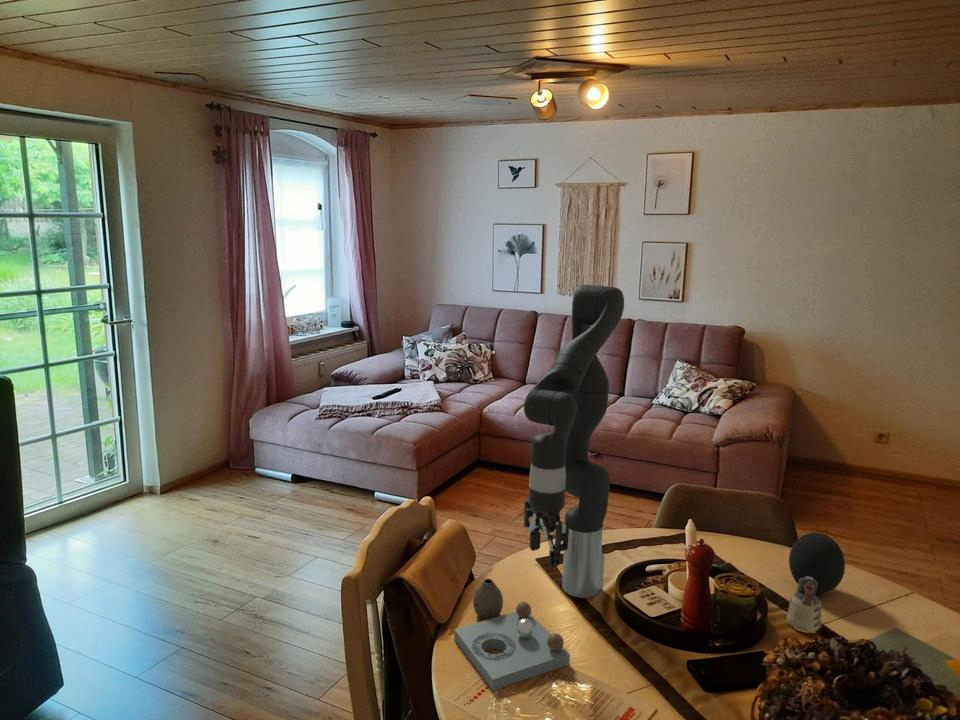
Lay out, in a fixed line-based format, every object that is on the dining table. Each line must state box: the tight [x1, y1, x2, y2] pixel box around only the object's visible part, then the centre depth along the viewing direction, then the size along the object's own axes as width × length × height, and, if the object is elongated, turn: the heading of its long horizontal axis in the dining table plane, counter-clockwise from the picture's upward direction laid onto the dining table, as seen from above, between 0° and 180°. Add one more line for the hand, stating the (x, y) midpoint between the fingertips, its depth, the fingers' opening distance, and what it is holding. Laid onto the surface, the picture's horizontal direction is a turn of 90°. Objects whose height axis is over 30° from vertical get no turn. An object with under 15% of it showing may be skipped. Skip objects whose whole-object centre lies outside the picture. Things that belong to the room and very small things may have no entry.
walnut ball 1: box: [515, 601, 532, 618], centre depth 151 cm, size 3×3×3 cm
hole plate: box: [453, 611, 571, 691], centre depth 143 cm, size 18×18×2 cm
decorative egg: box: [788, 532, 846, 595], centre depth 167 cm, size 12×12×15 cm
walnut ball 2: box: [547, 632, 565, 651], centre depth 140 cm, size 3×3×3 cm
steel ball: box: [516, 618, 534, 639], centre depth 144 cm, size 4×4×4 cm
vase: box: [472, 578, 504, 621], centre depth 155 cm, size 7×7×9 cm
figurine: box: [786, 577, 823, 631], centre depth 153 cm, size 7×7×12 cm
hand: (544, 557), depth 143 cm, fingers open, 7 cm apart
